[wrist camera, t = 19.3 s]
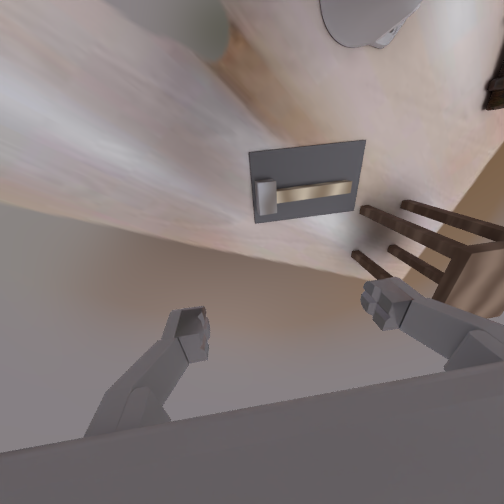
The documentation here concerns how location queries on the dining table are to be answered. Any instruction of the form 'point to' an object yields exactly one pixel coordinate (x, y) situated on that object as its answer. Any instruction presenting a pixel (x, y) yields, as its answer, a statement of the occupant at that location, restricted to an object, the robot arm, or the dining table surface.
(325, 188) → the hammer
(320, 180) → the mat
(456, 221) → the stool
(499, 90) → the bolt
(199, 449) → the robot arm
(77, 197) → the dining table surface
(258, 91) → the dining table surface
